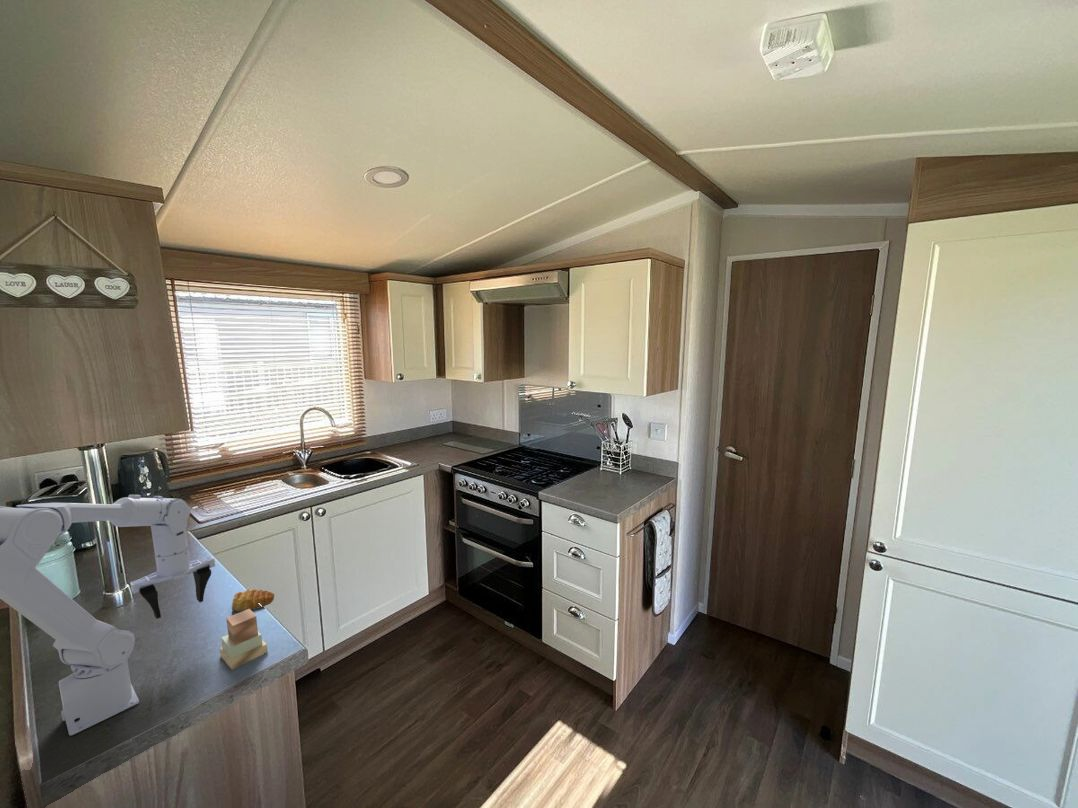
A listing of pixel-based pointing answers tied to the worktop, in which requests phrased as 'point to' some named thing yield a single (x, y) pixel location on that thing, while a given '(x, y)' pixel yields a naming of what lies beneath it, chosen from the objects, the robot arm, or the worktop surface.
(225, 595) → the worktop surface
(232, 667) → the oak slab
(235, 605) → the pastry
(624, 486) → the worktop surface
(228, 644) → the sage slab
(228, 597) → the worktop surface
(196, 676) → the worktop surface
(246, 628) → the terracotta cube
